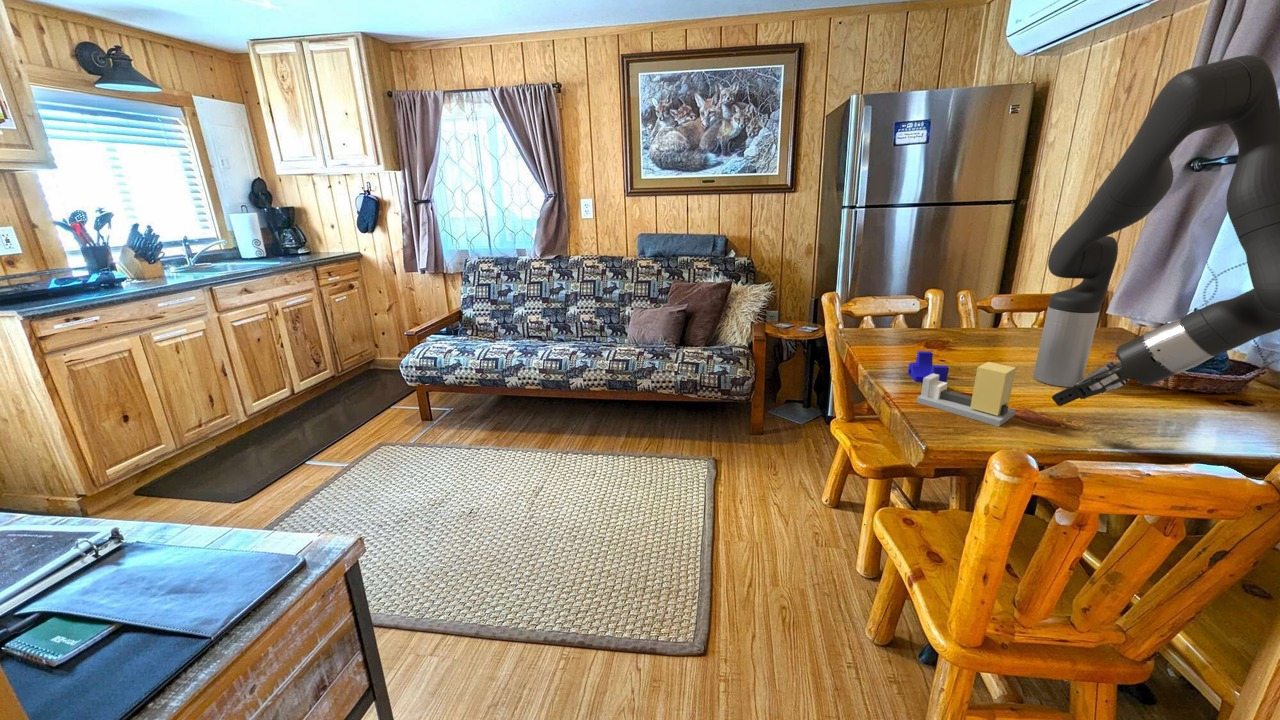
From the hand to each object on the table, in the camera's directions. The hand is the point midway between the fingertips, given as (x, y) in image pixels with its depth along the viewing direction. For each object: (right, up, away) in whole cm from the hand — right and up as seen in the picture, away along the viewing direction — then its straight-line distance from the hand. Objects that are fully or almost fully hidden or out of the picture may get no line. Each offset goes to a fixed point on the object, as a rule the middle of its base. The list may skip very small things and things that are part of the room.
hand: (1056, 400), depth 100 cm
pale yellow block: (-6, -2, +9) cm, 12 cm away
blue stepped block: (-9, +2, +28) cm, 30 cm away
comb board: (-9, -3, +13) cm, 16 cm away
